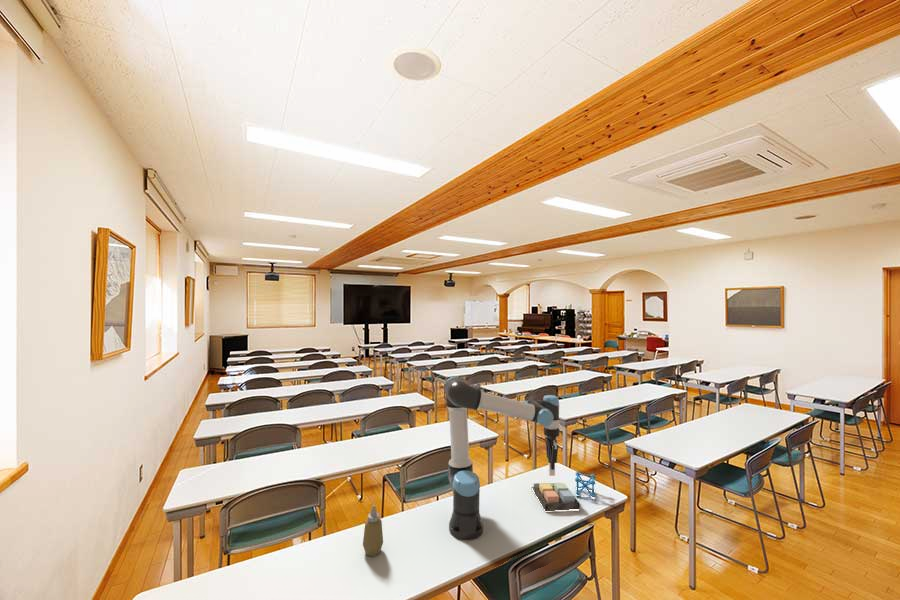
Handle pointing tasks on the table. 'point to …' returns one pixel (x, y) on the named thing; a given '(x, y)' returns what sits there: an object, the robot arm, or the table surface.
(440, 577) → the table surface
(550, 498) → the terracotta key
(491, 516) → the table surface
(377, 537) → the squeeze bottle
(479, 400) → the robot arm
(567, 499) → the slate key
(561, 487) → the sage key
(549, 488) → the mustard key
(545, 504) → the keypad
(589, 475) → the molecular structure
